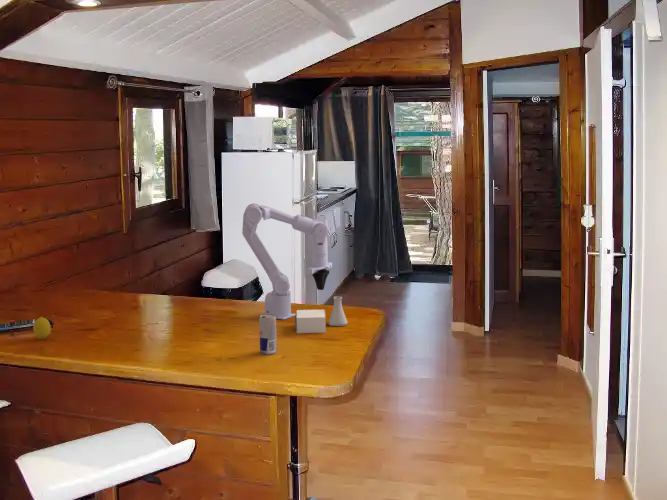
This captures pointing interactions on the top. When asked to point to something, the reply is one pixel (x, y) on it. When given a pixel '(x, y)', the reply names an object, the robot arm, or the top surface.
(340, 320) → the flask
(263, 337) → the energy drink
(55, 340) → the top surface
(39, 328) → the lemon
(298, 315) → the socket block
